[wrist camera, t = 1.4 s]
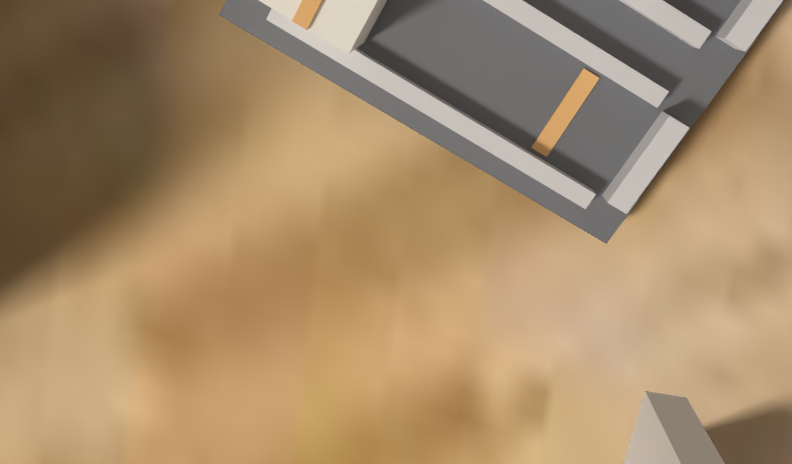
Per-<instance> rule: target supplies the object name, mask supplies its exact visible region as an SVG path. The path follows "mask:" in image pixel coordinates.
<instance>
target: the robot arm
mask: <svg viewBox="0 0 792 464" xmlns="http://www.w3.org/2000/svg"><path fill="white" fill-rule="evenodd" d="M624 464H725V463H724V461H723V460H722V458H721V456H720V455H719V453H718V451H717V449H716V448H715V446H714V444H713V443H712V441H711V439H710V437H709V436H708V434H707V432H706V431H705V429H704V427H703V425H702V424H701V422H700V420H699V419H698V417H697V415H696V413H695V412H694V410H693V408H692V406H691V405H690V403H689V401H688V400H687V398H685V397H678V396H672V395H666V394H660V393H653V392H647V391H645V394H644V397H643V400H642V404H641V407H640V410H639V414H638V417H637V420H636V424H635V427H634V430H633V434H632V437H631V440H630V444H629V447H628V450H627V454H626V457H625V461H624Z"/></svg>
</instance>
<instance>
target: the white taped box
mask: <svg viewBox="0 0 792 464" xmlns="http://www.w3.org/2000/svg"><path fill="white" fill-rule="evenodd" d="M259 1H260V2H262V3H264V4H265V5H267V6H269V7H270V8H272V9H274V10H275V11H277V12H279V13H280V14H282V15H284V16H285V17H287V18H289V19H291V20H292V22H294V23H296V24H297V25H299V26H301V27H302V28H304V29H306V30H309V31H311V32H312V33H314V34H316V35H317V36H319V37H321V38H322V39H324V40H326V41H327V42H329V43H331V44H332V45H334V46H336V47H337V48H339V49H341V50H343V51H344V52H346V53H348V54H349V53H351V52H352V51H354V50H355V49H356V48H358V47H359V46H360V45H362V44H363V43H364V42H365V40H366V38H367V37H368V35H369V33H370V31H371V29H372V27H373V26H374V24H375V22H376V20H377V18H378V17H379V15H380V13H381V11H382V9H383V7H384V6H385V4H386V2H387V0H259Z"/></svg>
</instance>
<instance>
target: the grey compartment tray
mask: <svg viewBox="0 0 792 464" xmlns="http://www.w3.org/2000/svg"><path fill="white" fill-rule="evenodd" d="M784 1H785V0H387V2H386V4H385V6H384V7H383V9H382V11H381V13H380V15H379V17H378V18H377V20H376V22H375V24H374V26H373V27H372V29H371V31H370V33H369V35H368V37H367V38H366V40H365V42H364V43H363V44H362V45H360V46H359V47H358V48H356V49H355V50H354V51H352V52H351V53H349V54H348V53H346V52H344V51H343V50H341V49H339V48H337V47H336V46H334V45H332V44H331V43H329V42H327V41H326V40H324V39H322V38H321V37H319V36H317V35H316V34H314V33H312V32H311V31H309V30H306V29H304V28H302V27H301V26H299V25H297V24H296V23H294V22H292V20H291V19H289V18H287V17H285V16H284V15H282V14H280V13H279V12H277V11H275V10H274V9H272V8H270V7H269V6H267V5H265V4H264V3H262V2H260V1H259V0H226V2H225V4H224V6H223V8H222V10H221V12H220V16H222V17H223V18H225V19H227V20H228V21H230V22H232V23H233V24H235V25H237V26H239V27H240V28H242V29H244V30H245V31H247V32H249V33H250V34H252V35H254V36H255V37H257V38H259V39H261V40H262V41H264V42H266V43H267V44H269V45H271V46H272V47H274V48H276V49H277V50H279V51H281V52H283V53H284V54H286V55H288V56H289V57H291V58H293V59H294V60H296V61H298V62H299V63H301V64H303V65H305V66H306V67H308V68H310V69H311V70H313V71H315V72H316V73H318V74H320V75H322V76H323V77H325V78H327V79H328V80H330V81H332V82H333V83H335V84H337V85H338V86H340V87H342V88H344V89H345V90H347V91H349V92H350V93H352V94H354V95H355V96H357V97H359V98H360V99H362V100H364V101H366V102H367V103H369V104H371V105H372V106H374V107H376V108H377V109H379V110H381V111H382V112H384V113H386V114H388V115H389V116H391V117H393V118H394V119H396V120H398V121H399V122H401V123H403V124H404V125H406V126H408V127H410V128H411V129H413V130H415V131H416V132H418V133H420V134H421V135H423V136H425V137H427V138H428V139H430V140H432V141H433V142H435V143H437V144H438V145H440V146H442V147H443V148H445V149H447V150H449V151H450V152H452V153H454V154H455V155H457V156H459V157H460V158H462V159H464V160H465V161H467V162H469V163H471V164H472V165H474V166H476V167H477V168H479V169H481V170H482V171H484V172H486V173H487V174H489V175H491V176H493V177H494V178H496V179H498V180H499V181H501V182H503V183H504V184H506V185H508V186H510V187H511V188H513V189H515V190H516V191H518V192H520V193H521V194H523V195H525V196H526V197H528V198H530V199H532V200H533V201H535V202H537V203H538V204H540V205H542V206H543V207H545V208H547V209H548V210H550V211H552V212H554V213H555V214H557V215H559V216H560V217H562V218H564V219H565V220H567V221H569V222H570V223H572V224H574V225H576V226H577V227H579V228H581V229H582V230H584V231H586V232H587V233H589V234H591V235H592V236H594V237H596V238H598V239H599V240H601V241H603V242H604V243H606V244H607V242H608V241H609V239H610V238H611V237H612V235H613V234H614V233H615V231H616V230H617V229H618V227H619V226H620V224H621V223H622V222H623V220H624V219H625V218H626V216H627V215H628V214H629V212H630V211H631V209H632V208H633V207H634V205H635V204H636V203H637V201H638V200H639V199H640V197H641V196H642V194H643V193H644V192H645V190H646V189H647V188H648V186H649V185H650V184H651V182H652V181H653V179H654V178H655V177H656V175H657V174H658V173H659V171H660V170H661V169H662V167H663V166H664V164H665V163H666V162H667V160H668V159H669V158H670V156H671V155H672V154H673V152H674V151H675V149H676V148H677V147H678V145H679V144H680V143H681V141H682V140H683V139H684V137H685V136H686V135H687V133H688V132H689V130H690V129H691V128H692V126H693V125H694V124H695V122H696V121H697V120H698V118H699V117H700V115H701V114H702V113H703V111H704V110H705V109H706V107H707V106H708V105H709V103H710V102H711V100H712V99H713V98H714V96H715V95H716V94H717V92H718V91H719V90H720V88H721V87H722V85H723V84H724V83H725V81H726V80H727V79H728V77H729V76H730V75H731V73H732V72H733V70H734V69H735V68H736V66H737V65H738V64H739V62H740V61H741V60H742V58H743V57H744V55H745V54H746V53H747V51H748V50H749V49H750V47H751V46H752V45H753V43H754V42H755V40H756V39H757V38H758V36H759V35H760V34H761V32H762V31H763V30H764V28H765V27H766V25H767V24H768V23H769V21H770V20H771V19H772V17H773V16H774V15H775V13H776V12H777V10H778V9H779V8H780V6H781V5H782V4H783V2H784Z"/></svg>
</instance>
